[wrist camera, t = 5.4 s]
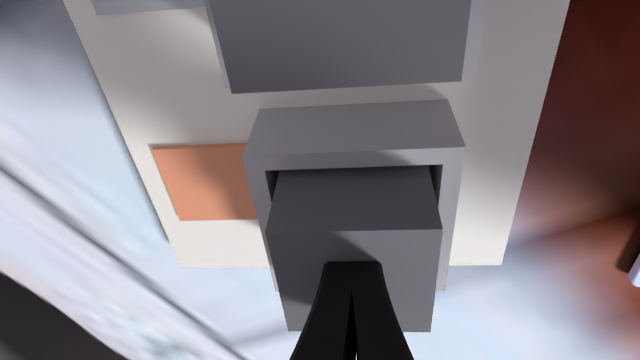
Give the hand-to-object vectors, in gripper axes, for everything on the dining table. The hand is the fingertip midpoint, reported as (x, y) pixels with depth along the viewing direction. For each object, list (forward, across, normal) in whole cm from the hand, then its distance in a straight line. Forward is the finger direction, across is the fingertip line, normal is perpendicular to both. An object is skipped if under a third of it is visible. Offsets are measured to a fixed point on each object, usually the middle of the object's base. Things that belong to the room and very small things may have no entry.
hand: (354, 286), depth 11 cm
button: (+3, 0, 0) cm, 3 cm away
